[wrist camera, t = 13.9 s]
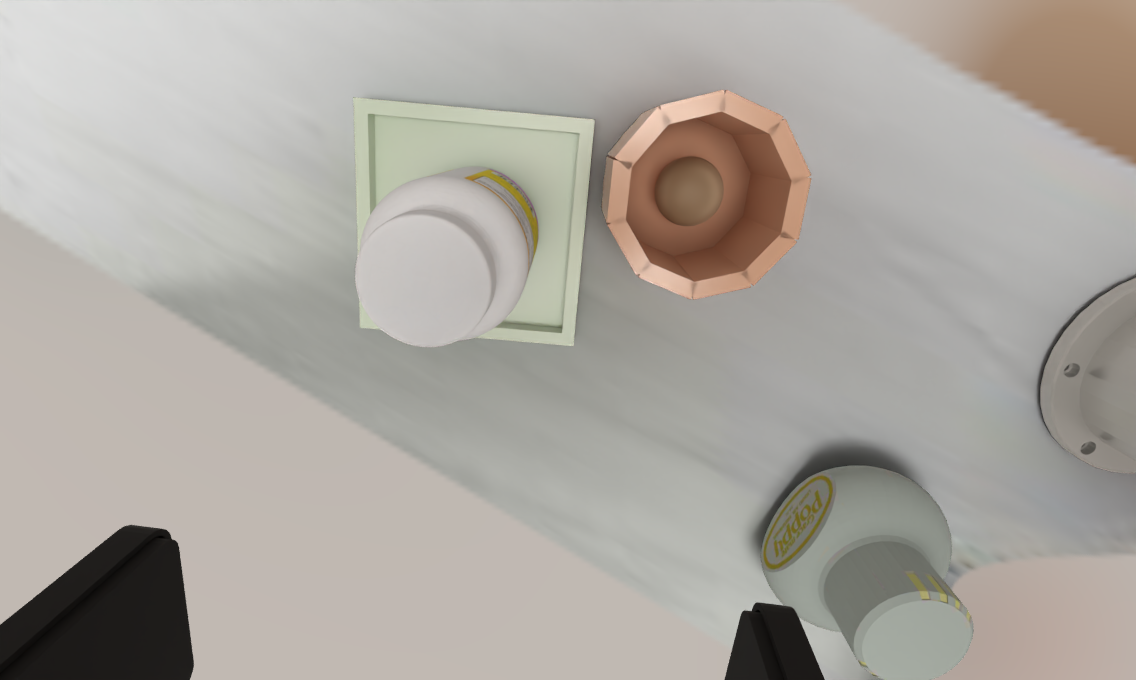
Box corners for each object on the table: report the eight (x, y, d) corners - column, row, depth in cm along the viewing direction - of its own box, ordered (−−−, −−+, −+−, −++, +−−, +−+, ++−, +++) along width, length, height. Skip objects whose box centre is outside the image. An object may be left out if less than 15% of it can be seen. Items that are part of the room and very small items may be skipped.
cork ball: (720, 158, 31) (737, 160, 27) (709, 224, 32) (724, 233, 28) (655, 152, 30) (664, 154, 27) (646, 218, 32) (654, 227, 28)
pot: (773, 108, 30) (828, 99, 24) (742, 274, 33) (783, 307, 27) (612, 93, 30) (622, 80, 24) (594, 261, 33) (599, 291, 27)
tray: (593, 120, 31) (594, 119, 29) (573, 337, 35) (573, 346, 33) (364, 99, 31) (353, 97, 29) (369, 319, 34) (359, 327, 33)
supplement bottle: (418, 282, 33) (326, 366, 21) (418, 160, 31) (316, 173, 19) (536, 293, 33) (514, 381, 21) (545, 171, 31) (525, 191, 19)
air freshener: (830, 426, 36) (921, 527, 27) (936, 481, 37) (1059, 597, 28) (733, 554, 39) (783, 685, 30) (833, 602, 41) (912, 742, 31)
